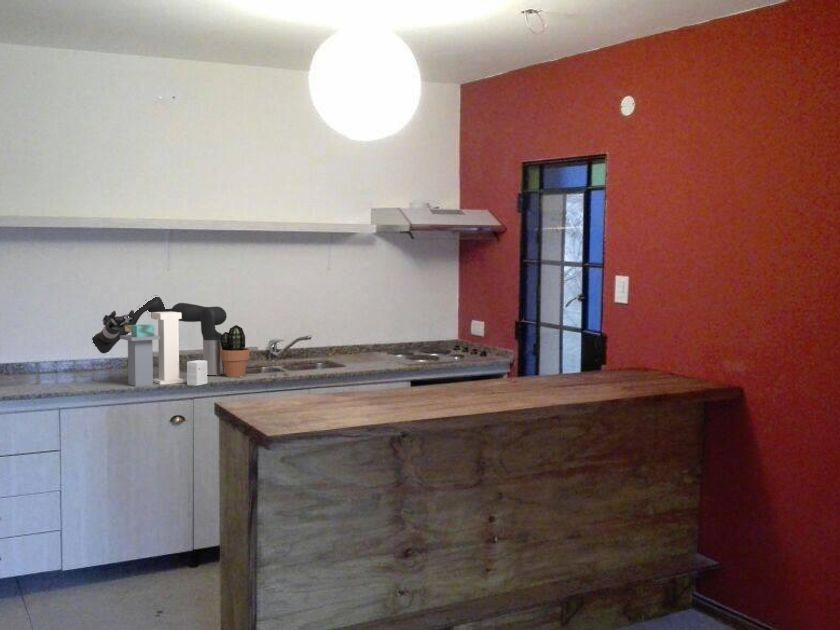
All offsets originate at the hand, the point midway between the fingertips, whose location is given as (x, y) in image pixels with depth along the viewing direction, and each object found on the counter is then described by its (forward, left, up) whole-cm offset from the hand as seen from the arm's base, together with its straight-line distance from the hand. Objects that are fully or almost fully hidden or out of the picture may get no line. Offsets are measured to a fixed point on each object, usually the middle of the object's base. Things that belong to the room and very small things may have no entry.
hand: (123, 312), depth 400 cm
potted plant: (-43, +29, -31) cm, 60 cm away
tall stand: (-9, +27, -31) cm, 42 cm away
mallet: (+3, +23, -9) cm, 25 cm away
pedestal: (+3, +27, -31) cm, 41 cm away
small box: (-17, +41, -31) cm, 54 cm away
